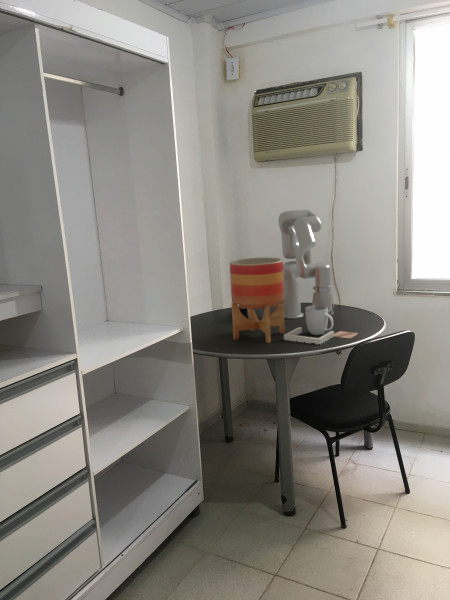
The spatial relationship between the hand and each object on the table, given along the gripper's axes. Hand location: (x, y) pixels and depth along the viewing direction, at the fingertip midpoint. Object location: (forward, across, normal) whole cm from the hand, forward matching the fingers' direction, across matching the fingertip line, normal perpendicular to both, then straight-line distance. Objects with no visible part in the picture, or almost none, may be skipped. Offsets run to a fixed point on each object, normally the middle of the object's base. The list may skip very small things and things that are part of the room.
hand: (323, 325), depth 250 cm
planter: (+3, -24, -23) cm, 33 cm away
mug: (+3, +1, -7) cm, 8 cm away
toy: (+3, -57, +13) cm, 59 cm away
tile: (+3, +13, -4) cm, 14 cm away
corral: (+3, 0, -16) cm, 16 cm away
